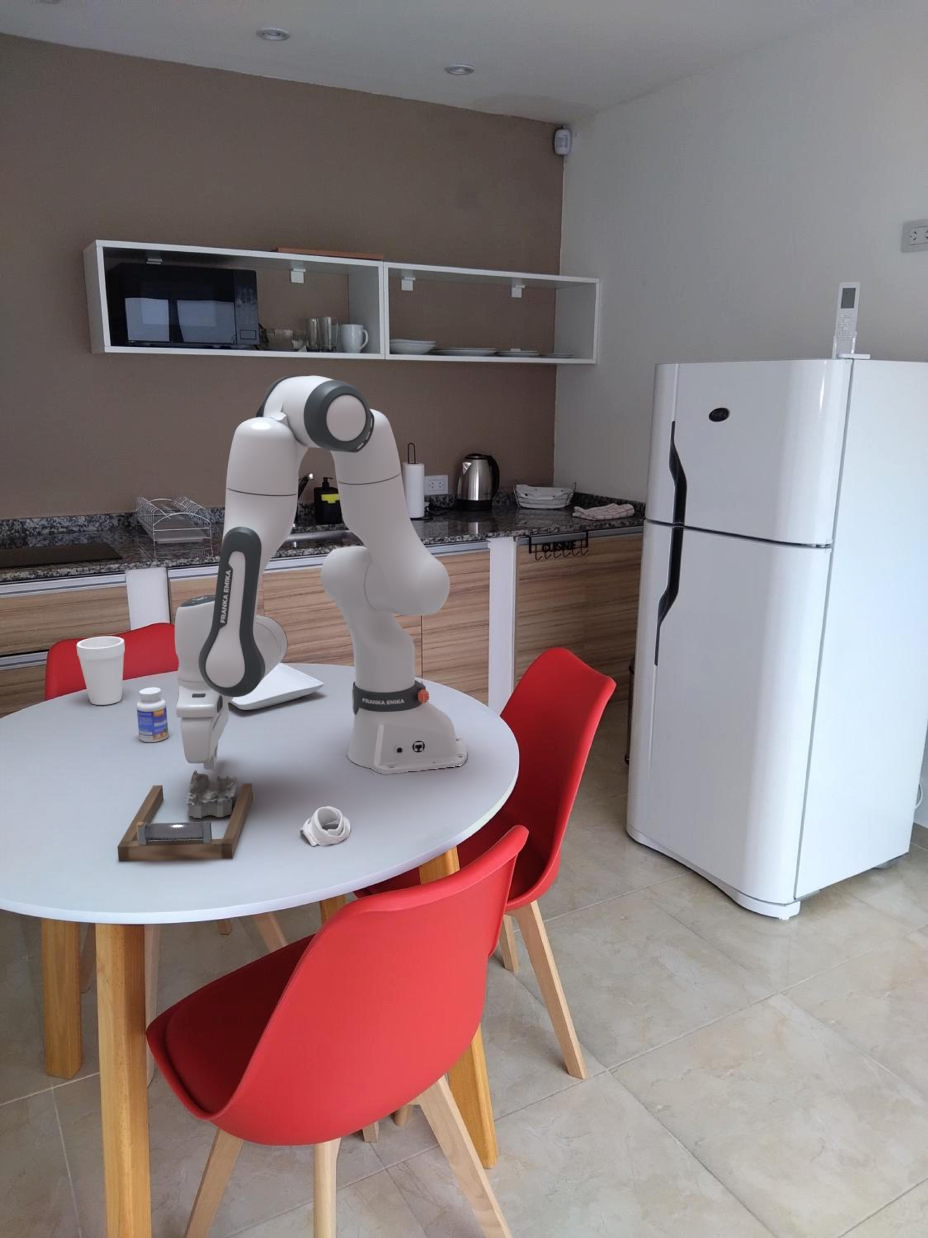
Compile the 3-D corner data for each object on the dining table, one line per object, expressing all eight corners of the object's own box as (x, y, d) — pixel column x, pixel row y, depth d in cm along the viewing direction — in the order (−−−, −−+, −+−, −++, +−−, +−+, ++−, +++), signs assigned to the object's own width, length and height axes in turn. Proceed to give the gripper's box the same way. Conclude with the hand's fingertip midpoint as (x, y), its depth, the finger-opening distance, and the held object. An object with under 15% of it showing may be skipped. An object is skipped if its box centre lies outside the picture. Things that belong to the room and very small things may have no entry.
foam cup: (72, 703, 190) (66, 645, 187) (105, 690, 199) (99, 634, 195) (106, 709, 187) (101, 650, 184) (138, 696, 195) (133, 639, 192)
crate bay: (252, 799, 148) (252, 783, 147) (232, 862, 128) (231, 843, 128) (154, 802, 146) (153, 785, 146) (119, 865, 127) (117, 847, 126)
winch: (213, 837, 129) (211, 817, 128) (209, 845, 127) (208, 825, 126) (141, 839, 128) (139, 819, 128) (136, 847, 126) (134, 827, 125)
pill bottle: (159, 744, 170) (155, 696, 167) (133, 741, 171) (129, 694, 168) (173, 733, 175) (170, 687, 172) (148, 731, 176) (145, 685, 173)
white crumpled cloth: (334, 822, 141) (333, 794, 140) (362, 837, 136) (361, 808, 135) (293, 840, 135) (291, 811, 134) (320, 856, 131) (319, 826, 130)
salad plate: (241, 719, 184) (240, 703, 183) (194, 692, 199) (193, 678, 198) (327, 696, 198) (326, 682, 197) (277, 673, 213) (276, 660, 212)
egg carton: (193, 791, 149) (193, 768, 148) (239, 792, 150) (239, 769, 149) (182, 819, 138) (182, 795, 138) (231, 819, 140) (231, 795, 139)
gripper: (199, 671, 159) (203, 743, 162) (173, 711, 139) (179, 792, 143) (235, 670, 159) (238, 742, 163) (214, 711, 140) (219, 791, 143)
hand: (210, 766), depth 153 cm, fingers closed
